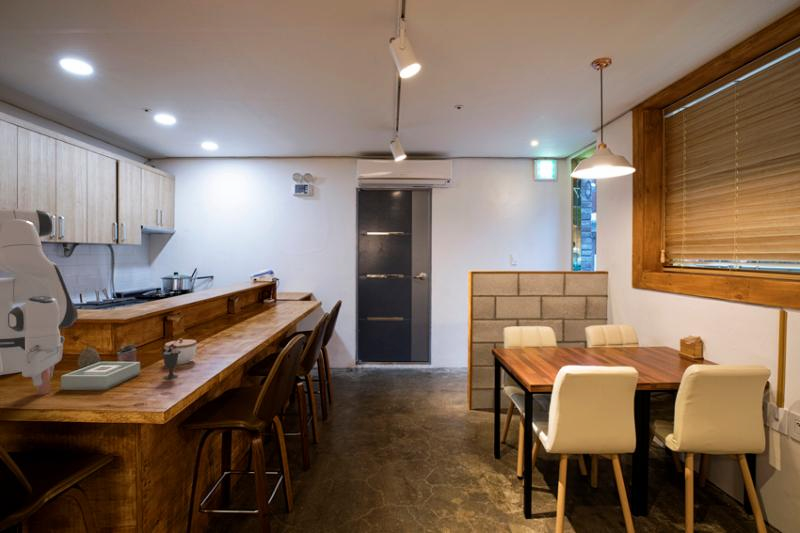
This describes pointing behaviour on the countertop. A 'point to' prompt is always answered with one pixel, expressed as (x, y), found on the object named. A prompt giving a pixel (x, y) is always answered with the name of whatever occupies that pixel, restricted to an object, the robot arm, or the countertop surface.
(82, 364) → the decorative egg
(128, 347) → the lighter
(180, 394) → the countertop surface
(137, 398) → the countertop surface
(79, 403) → the countertop surface
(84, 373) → the box
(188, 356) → the lidded bowl
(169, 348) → the sundae
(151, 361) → the countertop surface
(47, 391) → the dowel
